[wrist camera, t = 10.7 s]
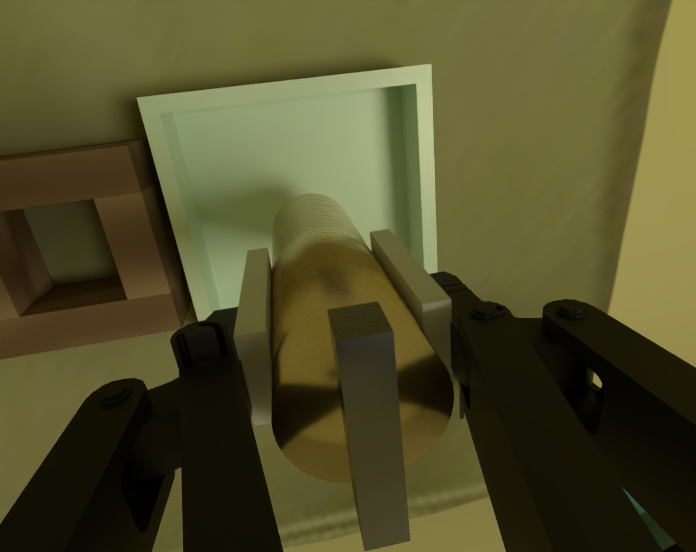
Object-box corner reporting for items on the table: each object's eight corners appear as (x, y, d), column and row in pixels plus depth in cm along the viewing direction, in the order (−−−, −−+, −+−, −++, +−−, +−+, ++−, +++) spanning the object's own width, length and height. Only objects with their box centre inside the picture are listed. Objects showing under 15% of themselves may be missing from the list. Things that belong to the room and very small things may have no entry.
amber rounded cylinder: (263, 187, 21) (244, 357, 7) (345, 176, 22) (477, 315, 8) (281, 285, 23) (294, 567, 9) (356, 273, 24) (476, 525, 10)
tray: (157, 97, 24) (136, 97, 20) (408, 68, 25) (431, 63, 22) (215, 323, 29) (207, 355, 26) (418, 289, 31) (438, 315, 27)
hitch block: (-45, 162, 23) (-103, 174, 20) (148, 137, 24) (127, 145, 21) (29, 325, 27) (-9, 360, 24) (193, 298, 28) (181, 328, 25)
